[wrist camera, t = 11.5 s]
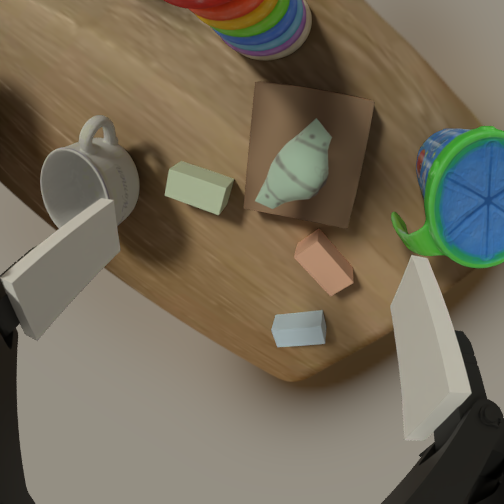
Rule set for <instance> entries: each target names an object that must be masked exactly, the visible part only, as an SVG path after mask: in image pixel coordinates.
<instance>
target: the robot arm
mask: <svg viewBox="0 0 504 504" xmlns="http://www.w3.org/2000/svg"><path fill="white" fill-rule="evenodd" d="M119 252H120V244H119V237H118V230H117V222H116V214H115V205H114V200H110V199H104V198H101V199H99V200H98V201H96V202H95V203H94V204H92V205H91V206H89V207H88V208H87V209H85V210H84V211H82V212H81V213H80V214H78V215H77V216H75V217H74V218H73V219H71V220H70V221H69V222H67V223H66V224H65V225H63V226H62V227H61V228H59V229H58V230H57V231H55V232H54V233H53V234H52V235H51V236H49V237H48V238H47V239H46V240H44V241H43V242H42V243H40V244H39V245H38V246H36V247H34V248H32V249H31V250H29V251H28V252H27V253H26V254H25V255H24V257H23V256H22V257H21V258H20V259H19V260H18V261H17V262H15V263H14V264H13V265H12V266H10V267H9V268H8V269H7V270H6V271H5V272H4V273H2V274H1V275H0V504H35V502H34V501H33V499H32V498H31V496H30V495H29V493H28V491H27V488H26V484H25V478H24V472H23V465H22V458H21V450H20V441H19V430H18V416H17V389H16V388H17V386H16V376H17V374H16V373H17V344H18V332H17V330H16V327H17V326H18V325H19V323H20V325H21V327H22V329H23V331H24V333H25V334H26V335H28V336H29V337H32V338H33V339H35V340H39V338H40V337H41V336H42V335H43V334H44V333H45V331H46V330H47V329H48V328H49V327H50V325H51V324H52V323H53V322H54V321H55V320H56V318H57V317H58V316H59V315H60V314H61V313H62V312H63V311H64V310H65V308H66V307H67V306H68V305H69V304H70V303H71V302H72V301H73V299H75V297H76V296H77V295H78V294H79V293H80V292H81V291H82V290H83V289H84V288H85V286H86V285H87V284H88V283H89V282H90V281H91V280H92V279H93V278H94V277H95V276H96V275H97V274H98V273H99V272H100V271H101V270H102V269H103V268H104V267H105V266H106V265H107V264H108V263H109V262H110V261H111V260H112V259H113V258H114V257H115V256H116V255H117V254H118V253H119ZM390 308H391V314H392V320H393V326H394V333H395V340H396V348H397V355H398V364H399V373H400V383H401V393H402V407H403V423H404V440H425V439H427V438H428V437H429V436H430V435H431V434H432V433H433V432H434V439H435V442H434V443H433V444H432V445H430V446H429V447H428V448H427V449H426V450H425V451H423V452H422V453H421V454H420V455H419V456H420V457H421V458H420V460H419V461H418V462H417V464H416V465H415V466H414V467H413V468H412V470H411V471H410V472H409V473H408V474H407V475H406V477H405V478H404V479H403V480H402V481H401V482H400V484H399V485H398V486H397V487H396V488H395V489H394V490H393V491H392V493H391V494H390V495H389V496H388V497H387V498H386V499H385V500H384V501H383V502H382V503H381V504H504V418H503V414H502V412H501V410H500V408H499V407H498V406H497V405H496V404H495V403H494V402H492V401H490V400H488V399H487V396H486V393H485V389H484V385H483V381H482V378H481V374H480V371H479V367H478V366H477V361H476V358H475V356H474V351H473V348H472V345H471V342H470V341H469V339H468V338H467V337H466V335H465V334H464V332H462V331H456V330H454V328H453V325H452V322H451V319H450V316H449V313H448V310H447V307H446V305H445V302H444V299H443V296H442V294H441V291H440V288H439V286H438V283H437V281H436V278H435V276H434V273H433V271H432V268H431V266H430V263H429V261H428V258H423V257H419V256H414V255H411V257H410V260H409V263H408V265H407V268H406V270H405V273H404V275H403V278H402V280H401V283H400V285H399V287H398V290H397V292H396V294H395V297H394V299H393V301H392V304H391V306H390Z"/></svg>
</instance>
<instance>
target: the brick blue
mask: <svg viewBox="0 0 504 504" xmlns="http://www.w3.org/2000/svg"><path fill="white" fill-rule="evenodd" d="M271 331H272V333H273V336H274V339H275V342H276V344H277V347H288V346H303V345H316V344H325V338H326V323H325V319H324V314H323V310H319V311H310V312H300V313H290V314H279V315H275V319H274V322H273V326H272V330H271Z"/></svg>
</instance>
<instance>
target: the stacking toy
mask: <svg viewBox="0 0 504 504" xmlns="http://www.w3.org/2000/svg"><path fill="white" fill-rule="evenodd" d="M164 1H166V2H168V3H170V4H172V5H175V6H178V7H182V8H188V9H189V10H190V11H192V12H193V13H194V14H195V15H196V16H197V17H198V18H199V19H200V20H201V21H203V22H204V23H206V24H208V25H209V26H210V27H212V28H213V30H214V31H215V32H216V33H217V34H218V35H220V37H221V38H222V39H223V41H224V42H225V43H226V44H227V45H228V46H230V47H231V48H232V49H234V50H235V51H237V52H238V53H240V54H242V55H244V56H246V57H248V58H251V59H256V60H275V59H279V58H282V57H285V56H287V55H289V54H291V53H293V52H294V51H296V50H297V49H298V48H299V47H300V46H301V45H302V44H303V43H304V42H305V40H306V39H307V37H308V35H309V33H310V30H311V25H312V15H311V11H310V8H309V5H308V3H307V2H306V0H164Z"/></svg>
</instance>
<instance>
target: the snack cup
mask: <svg viewBox="0 0 504 504" xmlns="http://www.w3.org/2000/svg"><path fill="white" fill-rule="evenodd" d="M416 172H417V177H418V182H419V185H420V189H421V191H422V195H423V198H424V207H425V215H426V221H425V224H424V226H423V227H422V228H420V229H419V230H418V231H415V232H413V233H411V234H408V232H407V228H406V224H405V223H404V221H403V220H402V219H401V217H400V216H399V215H398V214H397V213H396V212H392V214H391V220H392V223H393V226H394V229H395V230H396V232H397V234H398V235H399V237H400V238H401V240H402V241H403V243H404V244H405V246H406V247H407V248H408V249H409V250H411V251H413V252H414V253H417V254H419V255H424V256H437V255H445V256H448V257H449V258H450V259H452V260H453V261H455V262H456V263H458V264H460V265H463V266H466V267H471V268H488V267H492V266H496V265H498V264H501V263H503V262H504V131H502V130H498V129H496V128H495V127H493V126H481V127H479V128H477V129H473V130H466V129H443V130H441V131H439V132H436V133H434V134H433V135H432V136H430V137H429V138H428V139H427V140H426V141H425V142H424V144H423V145H422V147H420V150H419V152H418V157H417V163H416Z"/></svg>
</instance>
